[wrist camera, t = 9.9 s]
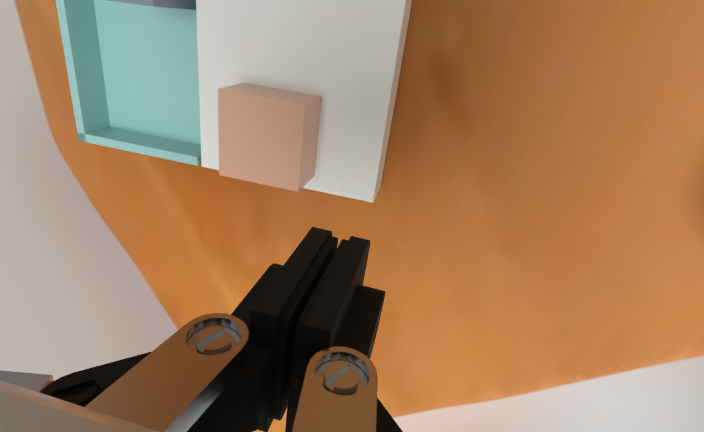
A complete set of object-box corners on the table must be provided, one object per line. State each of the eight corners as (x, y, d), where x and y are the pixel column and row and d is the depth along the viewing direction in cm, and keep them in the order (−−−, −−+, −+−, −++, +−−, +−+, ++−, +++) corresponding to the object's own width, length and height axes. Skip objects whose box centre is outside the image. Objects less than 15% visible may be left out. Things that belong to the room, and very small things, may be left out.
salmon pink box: (321, 96, 24) (305, 104, 22) (314, 175, 26) (298, 191, 24) (243, 82, 25) (217, 88, 22) (242, 161, 27) (219, 175, 25)
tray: (216, -111, 24) (186, -129, 21) (220, 153, 31) (197, 165, 28) (76, -124, 25) (31, -143, 23) (110, 131, 32) (79, 140, 30)
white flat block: (427, -91, 22) (423, -107, 19) (380, 186, 29) (372, 202, 26) (221, -110, 24) (191, -128, 21) (223, 154, 31) (201, 166, 28)
